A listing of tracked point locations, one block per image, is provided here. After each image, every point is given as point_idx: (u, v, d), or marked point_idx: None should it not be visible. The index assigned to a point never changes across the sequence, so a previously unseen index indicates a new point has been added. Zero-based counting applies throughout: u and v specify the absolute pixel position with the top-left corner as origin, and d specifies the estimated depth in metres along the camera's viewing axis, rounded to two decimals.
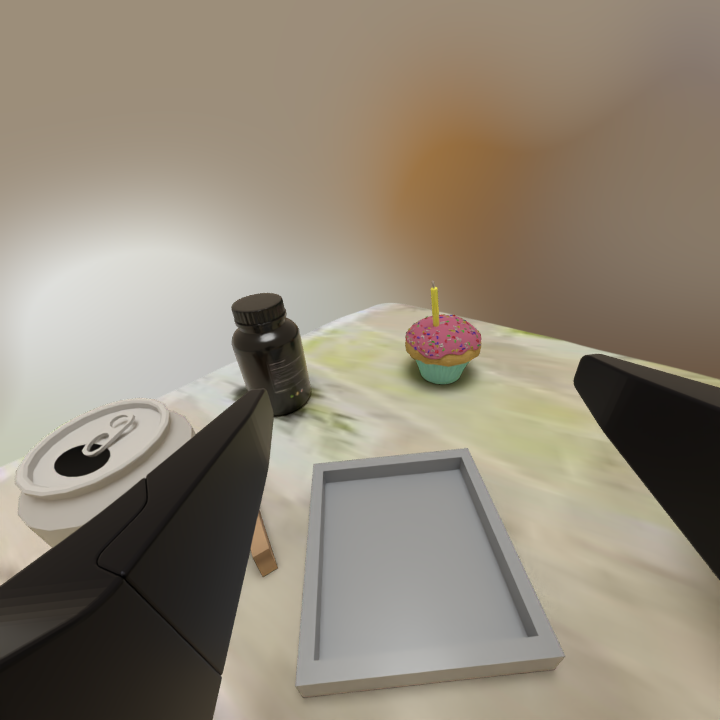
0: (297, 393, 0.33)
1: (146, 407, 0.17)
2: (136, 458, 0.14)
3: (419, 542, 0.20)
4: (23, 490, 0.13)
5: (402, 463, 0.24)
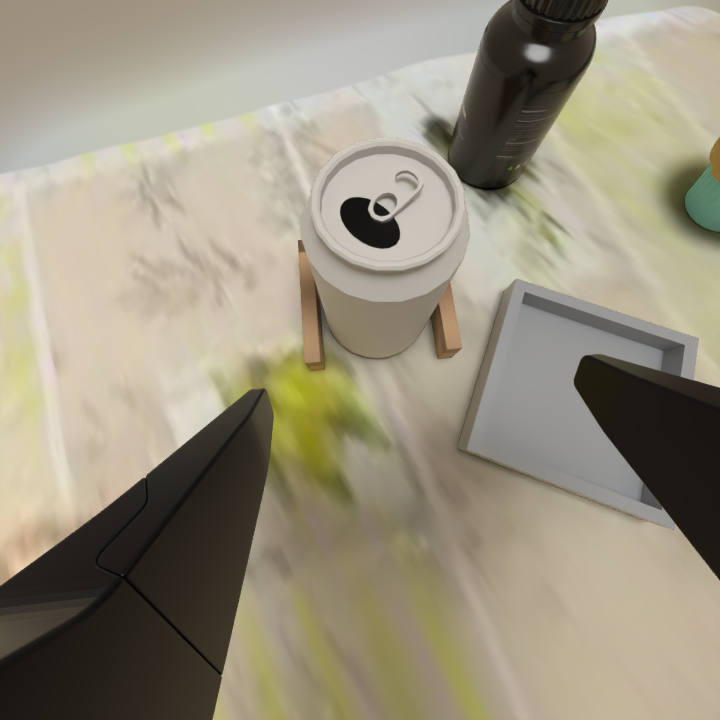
0: (517, 167, 0.24)
1: (427, 164, 0.13)
2: (439, 254, 0.12)
3: None
4: (330, 247, 0.12)
5: (613, 321, 0.21)
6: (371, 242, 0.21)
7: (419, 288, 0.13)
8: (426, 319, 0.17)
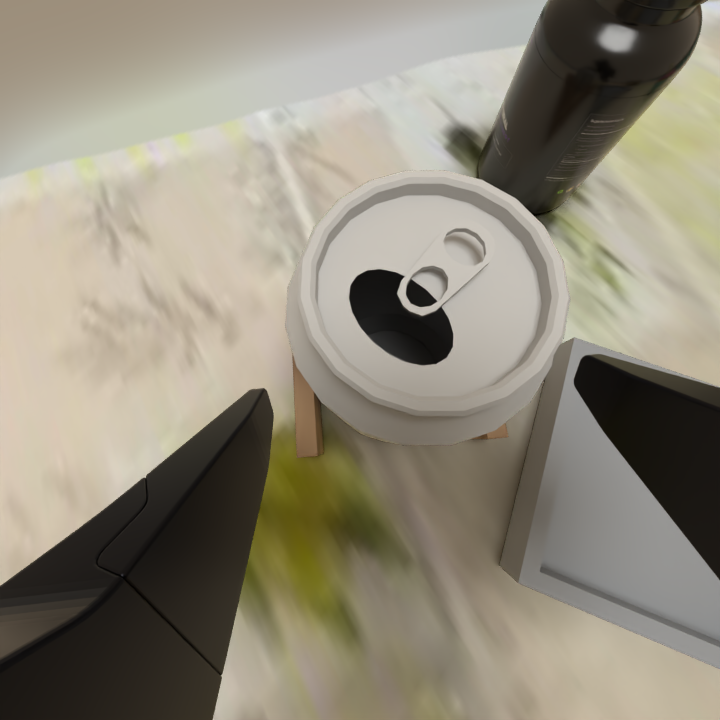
0: (569, 189, 0.19)
1: (493, 213, 0.08)
2: (529, 383, 0.06)
3: None
4: (333, 369, 0.07)
5: None
6: (385, 293, 0.16)
7: (483, 425, 0.07)
8: None
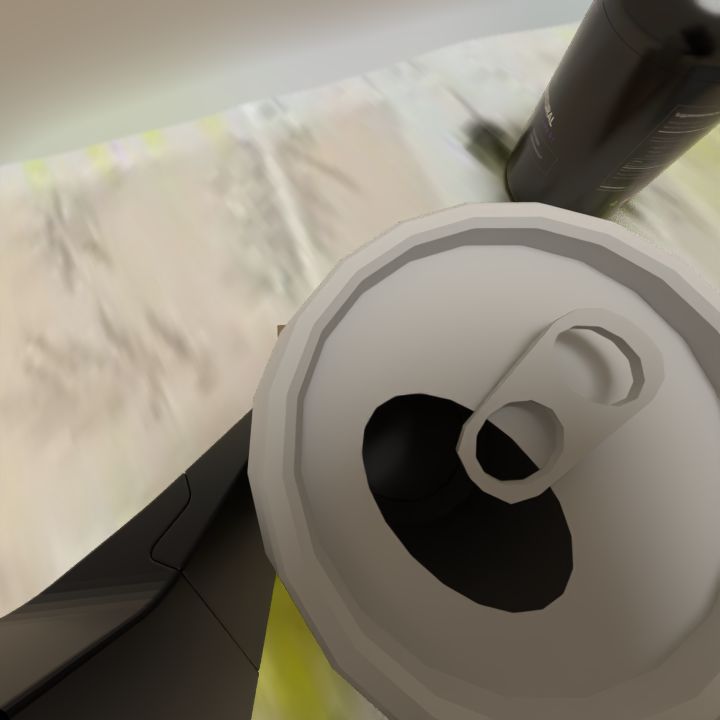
0: (624, 201, 0.15)
1: (629, 283, 0.04)
2: None
3: None
4: (332, 660, 0.03)
5: None
6: None
7: None
8: (521, 529, 0.09)
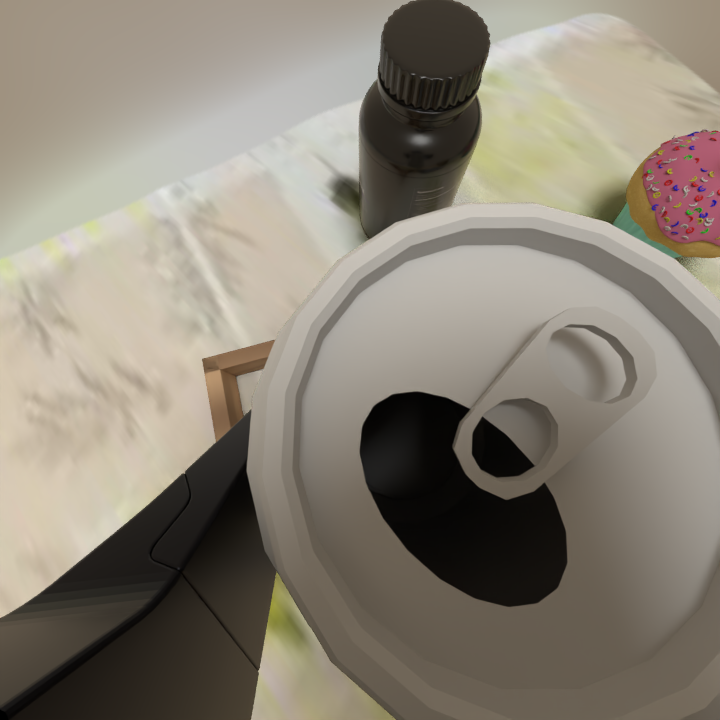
0: None
1: (623, 282, 0.04)
2: None
3: None
4: (330, 653, 0.03)
5: None
6: None
7: None
8: (518, 526, 0.09)
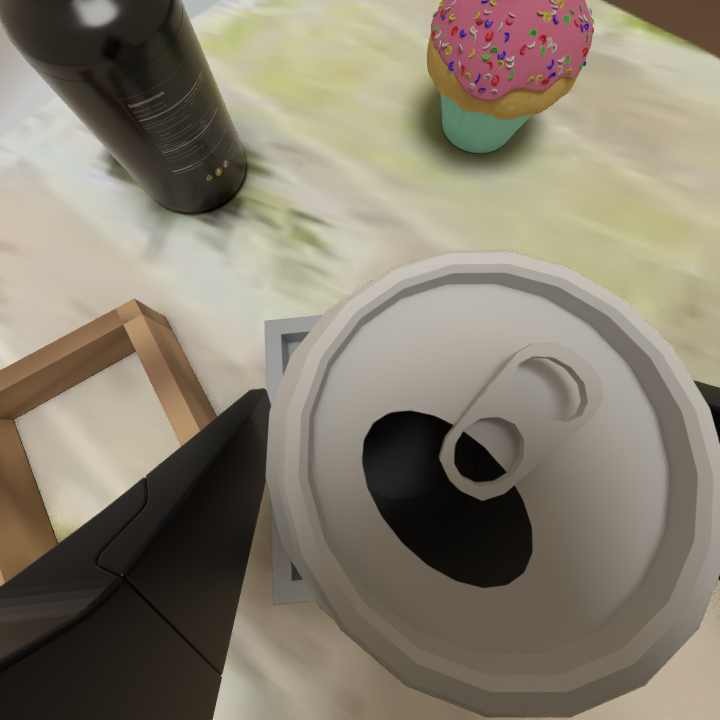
0: (219, 172, 0.18)
1: (583, 317, 0.05)
2: (676, 646, 0.04)
3: None
4: (340, 622, 0.04)
5: None
6: None
7: None
8: (508, 525, 0.10)
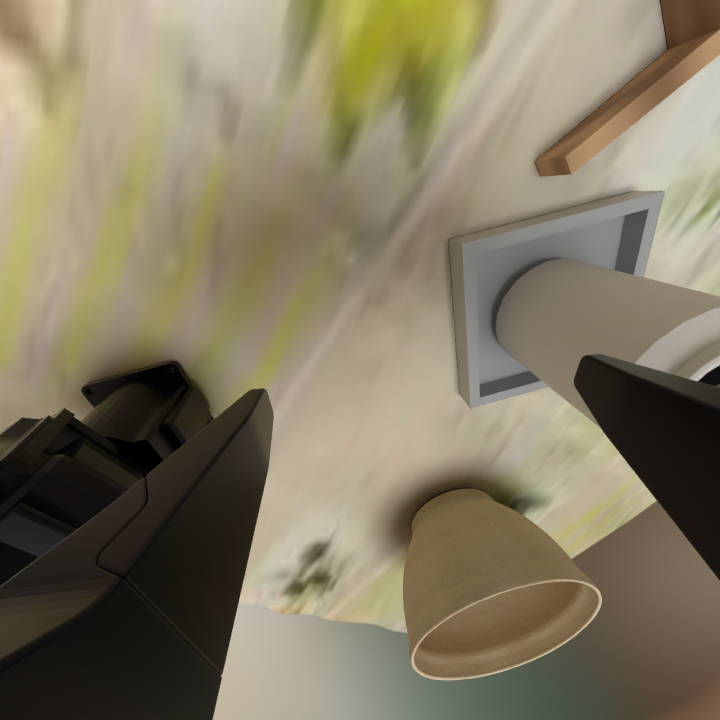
0: None
1: None
2: None
3: None
4: (704, 367, 0.11)
5: None
6: None
7: None
8: (549, 386, 0.19)
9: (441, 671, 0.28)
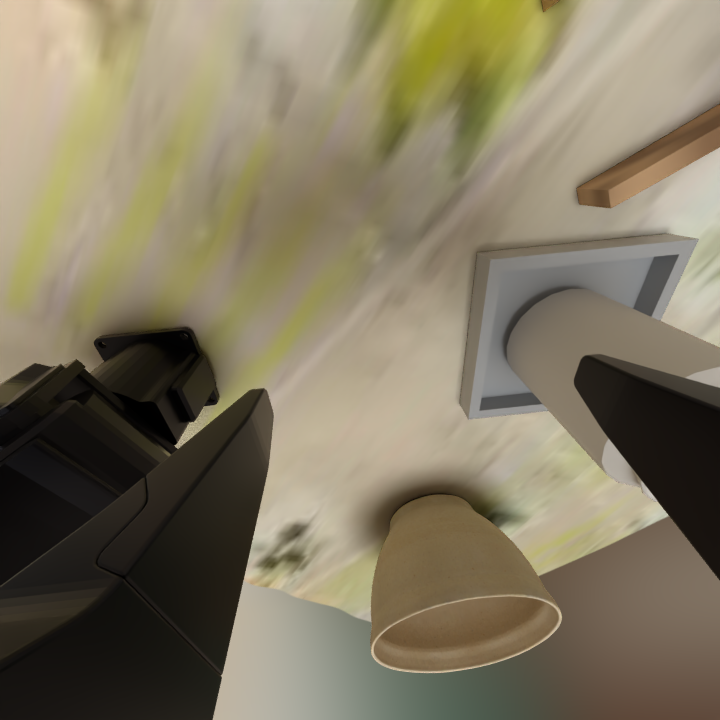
0: None
1: None
2: (642, 489, 0.14)
3: None
4: None
5: None
6: None
7: (611, 460, 0.14)
8: (549, 411, 0.19)
9: (397, 662, 0.29)
